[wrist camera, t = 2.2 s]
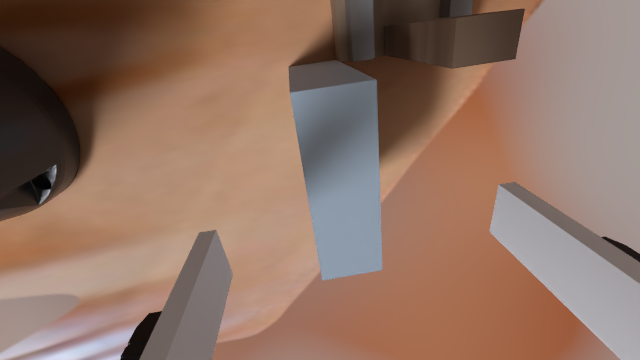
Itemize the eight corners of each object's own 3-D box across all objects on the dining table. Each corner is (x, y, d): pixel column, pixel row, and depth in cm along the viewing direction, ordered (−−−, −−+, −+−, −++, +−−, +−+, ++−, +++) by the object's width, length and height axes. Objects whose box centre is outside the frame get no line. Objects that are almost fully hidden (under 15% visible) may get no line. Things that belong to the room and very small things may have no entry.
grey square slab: (309, 190, 29) (322, 280, 18) (288, 66, 23) (289, 92, 13) (347, 184, 29) (382, 269, 18) (336, 59, 23) (376, 79, 13)
